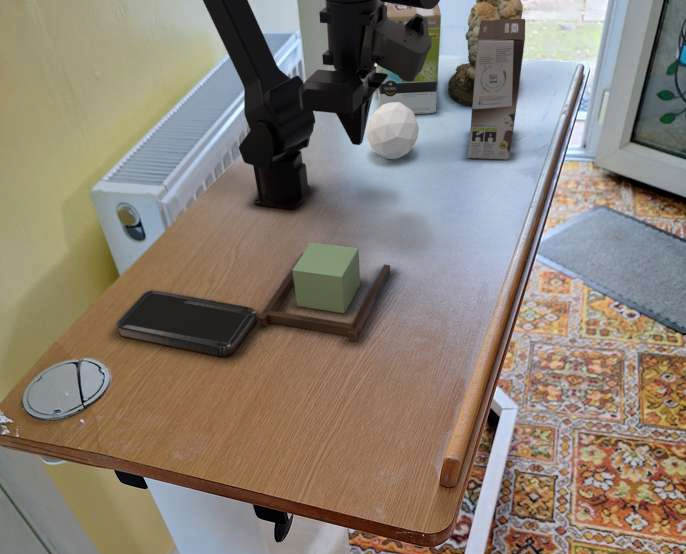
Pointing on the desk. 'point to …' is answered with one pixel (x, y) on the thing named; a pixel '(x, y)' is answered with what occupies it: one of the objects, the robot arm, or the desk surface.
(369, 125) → the geometric ball
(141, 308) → the phone
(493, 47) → the coffee box
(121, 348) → the desk surface
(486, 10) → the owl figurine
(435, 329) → the desk surface
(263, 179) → the robot arm
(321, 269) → the block
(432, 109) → the tea box
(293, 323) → the bay
